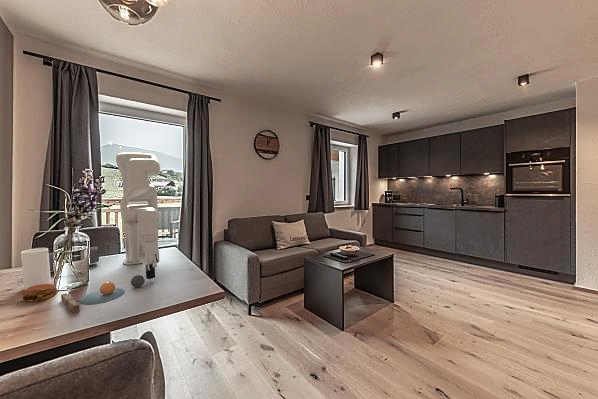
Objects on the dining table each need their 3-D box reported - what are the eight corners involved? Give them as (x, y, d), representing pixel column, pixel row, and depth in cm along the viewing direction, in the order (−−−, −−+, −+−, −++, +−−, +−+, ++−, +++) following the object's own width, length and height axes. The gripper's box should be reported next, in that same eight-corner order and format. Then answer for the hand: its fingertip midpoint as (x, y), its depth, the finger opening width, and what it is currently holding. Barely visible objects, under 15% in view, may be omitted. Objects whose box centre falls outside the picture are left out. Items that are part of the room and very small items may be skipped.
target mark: (74, 297, 102) (74, 297, 102) (116, 285, 113) (116, 285, 113) (86, 308, 94) (86, 307, 94) (130, 294, 105) (130, 293, 105)
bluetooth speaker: (97, 261, 147) (95, 244, 147) (99, 265, 141) (98, 247, 140) (40, 272, 132) (38, 252, 131) (40, 277, 125) (38, 256, 124)
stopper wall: (61, 300, 100) (60, 294, 100) (66, 299, 101) (66, 293, 101) (74, 313, 90) (73, 306, 90) (79, 311, 91) (79, 304, 91)
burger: (44, 291, 109) (43, 280, 109) (63, 292, 107) (62, 281, 107) (15, 302, 99) (13, 290, 99) (35, 304, 98) (34, 292, 97)
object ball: (115, 286, 109) (103, 295, 106) (107, 277, 107) (95, 287, 104) (119, 288, 106) (107, 298, 103) (111, 280, 104) (98, 290, 101)
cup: (37, 290, 109) (34, 252, 108) (18, 290, 109) (14, 252, 108) (56, 283, 117) (53, 247, 116) (38, 283, 118) (35, 247, 116)
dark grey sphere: (139, 270, 114) (140, 279, 116) (127, 277, 110) (128, 285, 112) (146, 276, 112) (147, 285, 114) (135, 283, 108) (136, 291, 110)
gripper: (131, 237, 118) (134, 277, 119) (147, 241, 109) (149, 284, 110) (149, 234, 124) (151, 272, 125) (165, 238, 115) (167, 279, 117)
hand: (150, 278), depth 118 cm, fingers closed
